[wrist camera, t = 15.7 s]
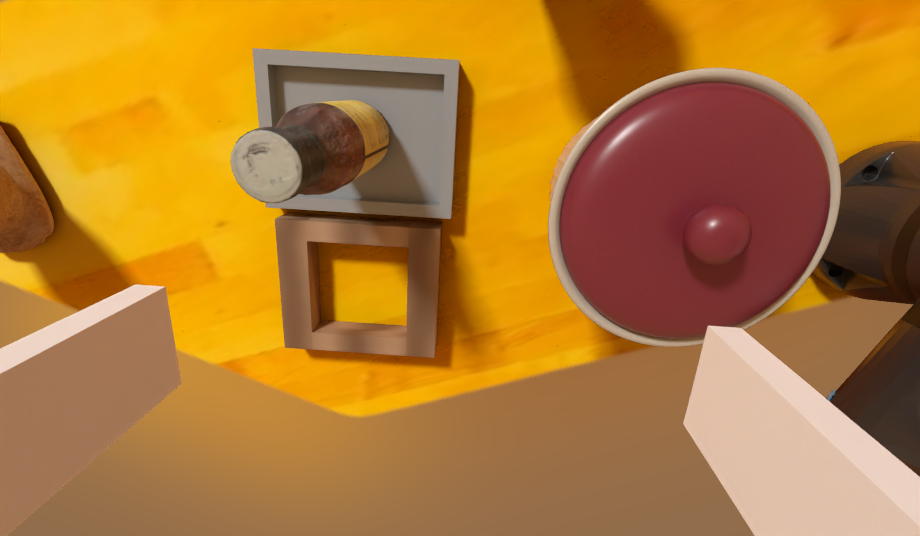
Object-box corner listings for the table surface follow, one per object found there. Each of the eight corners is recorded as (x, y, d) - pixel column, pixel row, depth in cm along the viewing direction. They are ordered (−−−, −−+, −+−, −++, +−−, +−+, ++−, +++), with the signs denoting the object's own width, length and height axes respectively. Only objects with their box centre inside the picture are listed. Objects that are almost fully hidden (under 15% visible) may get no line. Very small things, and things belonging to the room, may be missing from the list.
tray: (460, 63, 42) (458, 60, 39) (452, 213, 46) (450, 219, 44) (265, 51, 42) (252, 48, 40) (276, 202, 46) (265, 207, 44)
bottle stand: (442, 222, 46) (439, 229, 44) (436, 344, 51) (434, 357, 48) (287, 212, 47) (274, 219, 44) (295, 334, 51) (284, 347, 48)
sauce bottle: (335, 91, 42) (215, 76, 23) (400, 112, 42) (334, 114, 23) (321, 161, 44) (201, 198, 25) (383, 180, 44) (310, 232, 26)
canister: (752, 174, 44) (980, 226, 24) (612, 303, 49) (705, 435, 29) (622, 39, 40) (762, -31, 21) (486, 192, 45) (493, 255, 25)
